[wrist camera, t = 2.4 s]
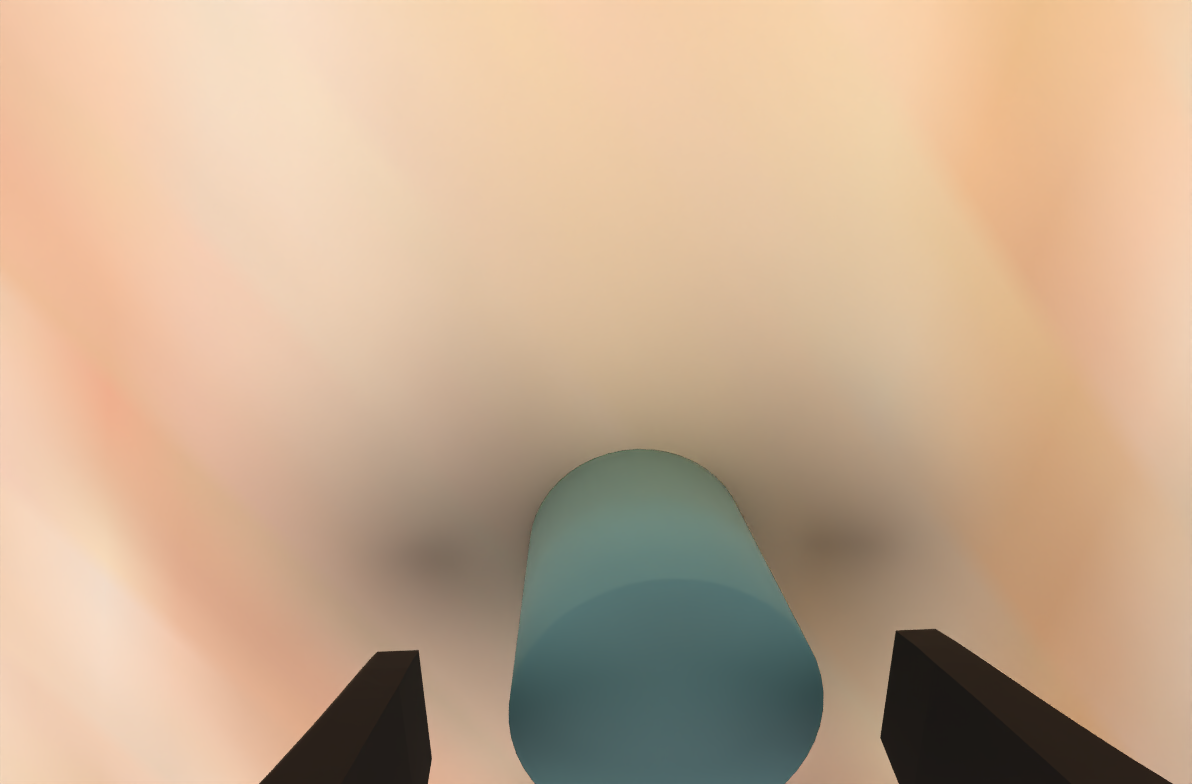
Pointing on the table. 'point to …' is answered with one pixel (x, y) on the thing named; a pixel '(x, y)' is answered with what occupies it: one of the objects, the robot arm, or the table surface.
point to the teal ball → (656, 636)
